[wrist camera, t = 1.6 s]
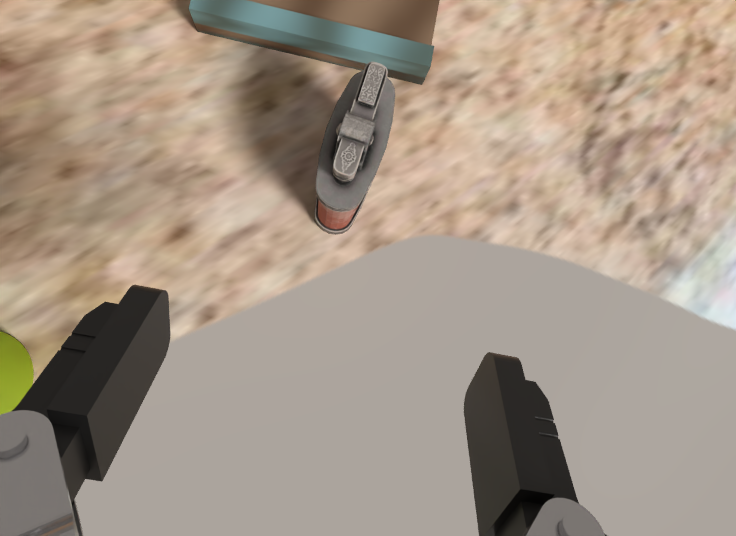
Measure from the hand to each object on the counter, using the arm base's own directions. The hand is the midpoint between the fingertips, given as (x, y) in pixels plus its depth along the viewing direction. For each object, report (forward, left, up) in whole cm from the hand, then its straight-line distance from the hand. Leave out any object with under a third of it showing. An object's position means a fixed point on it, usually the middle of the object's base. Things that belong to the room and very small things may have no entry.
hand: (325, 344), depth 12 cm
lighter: (0, +11, -21) cm, 23 cm away
